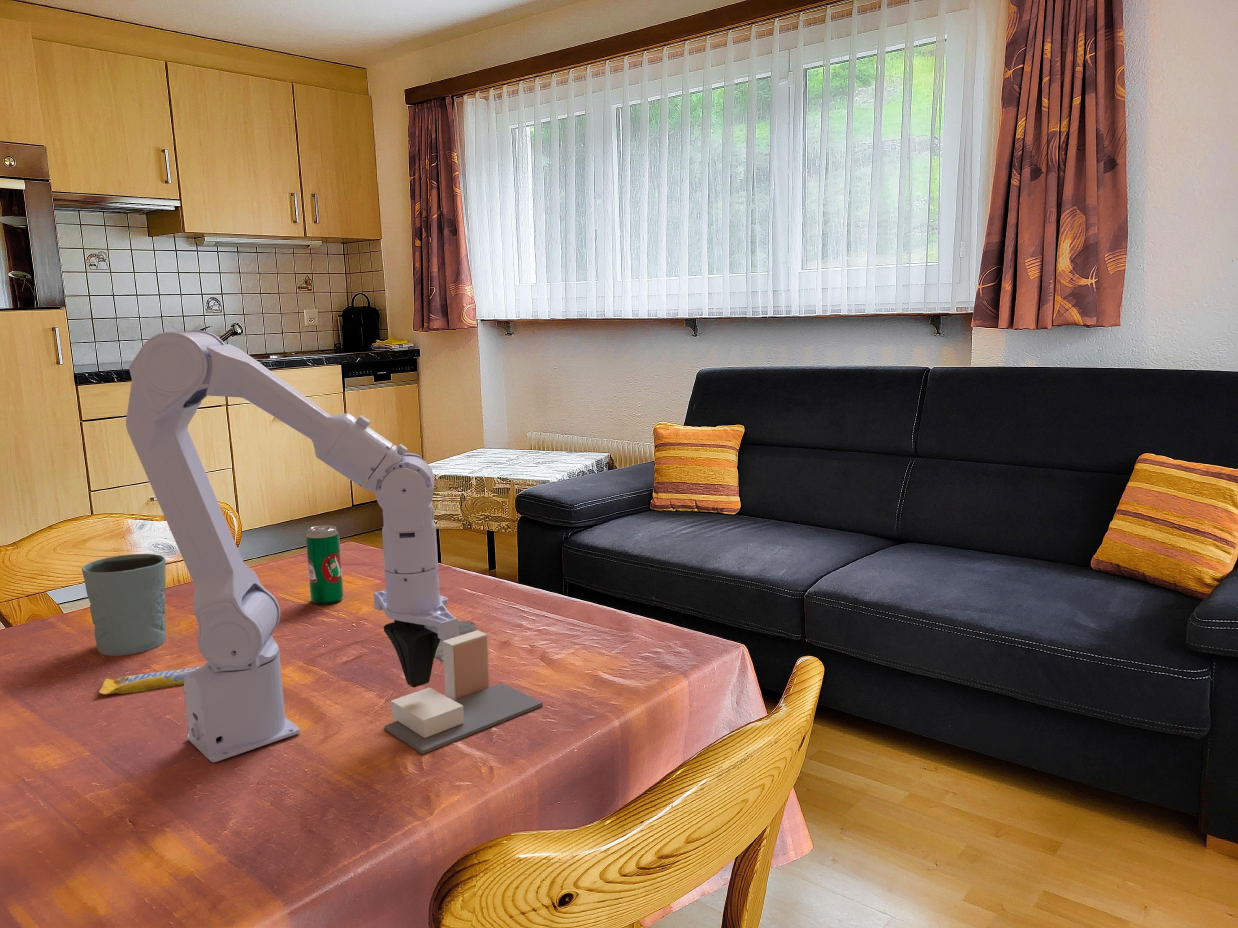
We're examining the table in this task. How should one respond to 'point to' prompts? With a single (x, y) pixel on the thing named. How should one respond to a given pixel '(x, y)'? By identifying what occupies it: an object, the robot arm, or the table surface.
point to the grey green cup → (127, 602)
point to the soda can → (324, 564)
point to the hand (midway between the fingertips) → (418, 683)
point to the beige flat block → (427, 712)
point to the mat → (471, 716)
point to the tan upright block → (466, 664)
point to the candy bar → (145, 681)
